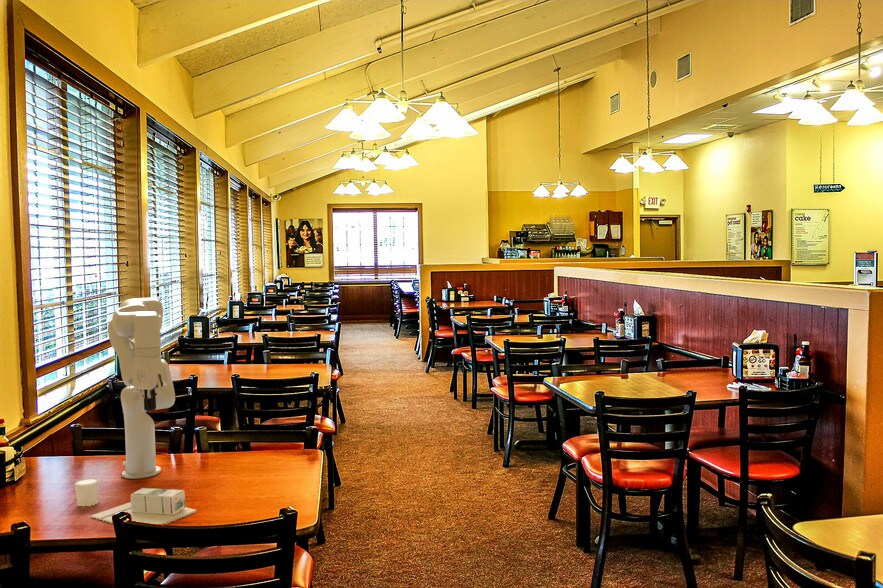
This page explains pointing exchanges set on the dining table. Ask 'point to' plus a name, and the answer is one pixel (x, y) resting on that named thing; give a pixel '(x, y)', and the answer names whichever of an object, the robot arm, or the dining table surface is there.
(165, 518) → the mat
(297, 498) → the dining table surface
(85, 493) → the white short cylinder
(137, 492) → the syrup box
